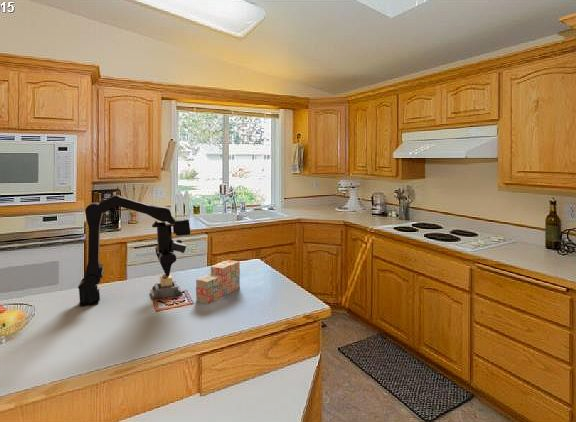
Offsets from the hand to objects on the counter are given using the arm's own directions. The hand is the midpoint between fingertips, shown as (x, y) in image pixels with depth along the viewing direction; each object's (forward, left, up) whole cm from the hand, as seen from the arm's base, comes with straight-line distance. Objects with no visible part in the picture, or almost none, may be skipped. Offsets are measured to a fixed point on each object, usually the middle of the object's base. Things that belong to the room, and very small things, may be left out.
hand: (166, 272), depth 154 cm
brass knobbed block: (0, 0, -8) cm, 8 cm away
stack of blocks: (+20, -10, -9) cm, 24 cm away
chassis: (0, 0, -9) cm, 9 cm away
